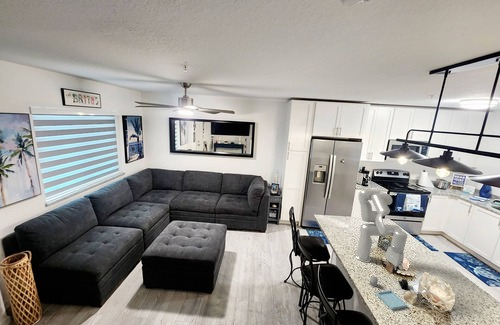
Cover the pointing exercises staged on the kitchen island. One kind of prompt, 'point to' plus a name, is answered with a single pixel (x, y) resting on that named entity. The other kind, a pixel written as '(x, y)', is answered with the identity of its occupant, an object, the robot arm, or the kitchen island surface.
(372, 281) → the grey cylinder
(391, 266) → the walnut block
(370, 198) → the robot arm
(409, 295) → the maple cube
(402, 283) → the black lumpy block
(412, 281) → the kitchen island surface
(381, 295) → the tray
